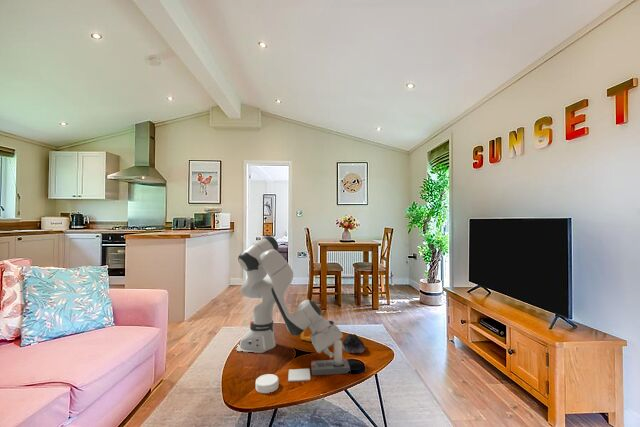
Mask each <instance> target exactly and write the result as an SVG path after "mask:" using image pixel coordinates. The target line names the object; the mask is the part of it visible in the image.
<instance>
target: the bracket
mask: <svg viewBox="0 0 640 427" xmlns="http://www.w3.org/2000/svg"><path fill="white" fill-rule="evenodd" d="M311 334H313V333H312V331H311V330H310V327H307V328H306V329H305V330H304V331H303V332H302V333H301V334H300V339H301V340H303V341H306V342H312V341H311V339H310V335H311Z"/></svg>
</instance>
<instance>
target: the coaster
mask: <svg viewBox="0 0 640 427" xmlns="http://www.w3.org/2000/svg"><path fill="white" fill-rule="evenodd" d="M279 380H280V379H279V377H278V376H277V375H276V374H272V373H267V374H262V375H259V376H258V377H257V378H256V379H255V390H256V391H257V392H258V393H259V394H270V392H271V393H272V392H275V391H277V389H278V388H279V386H280V385H279V383H280V382H279Z"/></svg>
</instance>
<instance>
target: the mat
mask: <svg viewBox="0 0 640 427" xmlns="http://www.w3.org/2000/svg"><path fill="white" fill-rule="evenodd" d="M310 370H311V369H310V368H296V369H295V368H294V369H291V368H290V369H288V375H287V376H288V378H287V382H288V383H293V382H309V381H311V371H310Z"/></svg>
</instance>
